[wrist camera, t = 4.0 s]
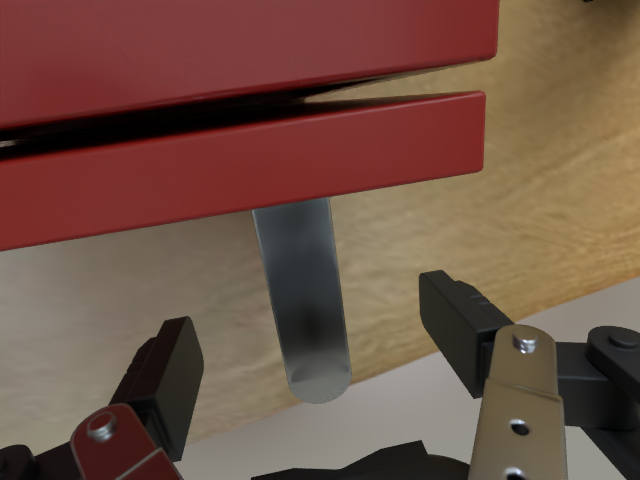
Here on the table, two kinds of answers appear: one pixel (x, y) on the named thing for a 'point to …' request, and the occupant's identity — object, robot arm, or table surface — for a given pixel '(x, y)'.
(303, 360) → the red cabinet door
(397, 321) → the table surface
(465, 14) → the cabinet
